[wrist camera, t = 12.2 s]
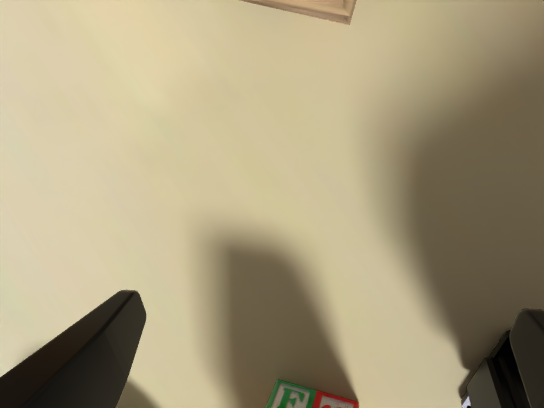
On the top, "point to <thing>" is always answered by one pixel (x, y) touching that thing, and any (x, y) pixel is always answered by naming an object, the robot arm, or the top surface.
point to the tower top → (318, 5)
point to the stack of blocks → (304, 398)
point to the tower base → (310, 12)
